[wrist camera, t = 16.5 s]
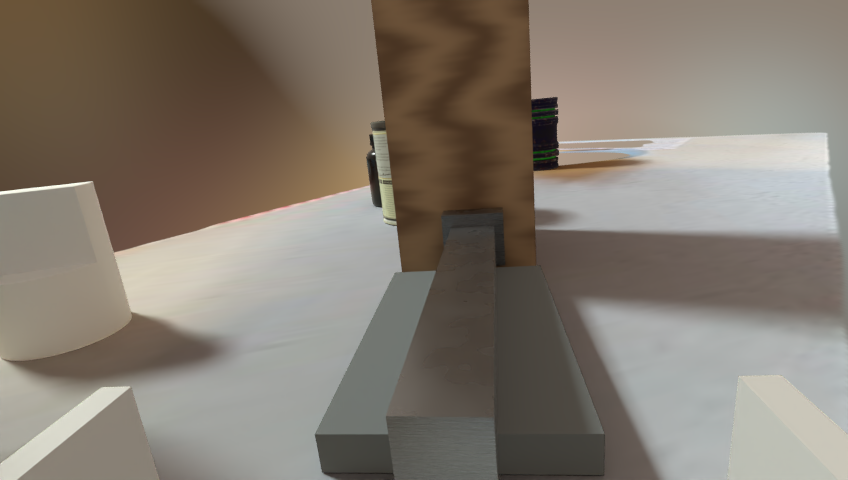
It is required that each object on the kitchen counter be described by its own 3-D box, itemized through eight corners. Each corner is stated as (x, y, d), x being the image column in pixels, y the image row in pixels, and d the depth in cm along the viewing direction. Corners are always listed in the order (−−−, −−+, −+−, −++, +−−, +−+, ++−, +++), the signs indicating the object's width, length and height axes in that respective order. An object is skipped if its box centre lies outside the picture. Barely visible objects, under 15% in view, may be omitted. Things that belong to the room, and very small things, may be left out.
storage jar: (562, 163, 107) (561, 96, 103) (555, 170, 98) (554, 97, 94) (519, 165, 111) (516, 100, 107) (509, 171, 102) (506, 102, 98)
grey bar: (376, 500, 16) (359, 389, 15) (447, 260, 41) (443, 210, 40) (521, 507, 15) (516, 389, 14) (504, 257, 40) (502, 207, 39)
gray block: (322, 472, 20) (315, 434, 20) (397, 294, 39) (395, 272, 39) (604, 475, 19) (604, 433, 18) (540, 288, 38) (540, 265, 37)
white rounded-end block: (-31, 371, 33) (-98, 209, 30) (40, 320, 42) (-6, 189, 38) (106, 347, 35) (56, 191, 32) (147, 302, 43) (112, 176, 40)
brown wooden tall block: (403, 281, 42) (354, -143, 33) (423, 234, 58) (393, -66, 49) (536, 275, 41) (523, -173, 32) (520, 228, 56) (508, -83, 47)
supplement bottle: (416, 198, 82) (409, 129, 79) (405, 206, 76) (397, 132, 72) (379, 200, 84) (371, 132, 80) (366, 208, 77) (357, 135, 74)
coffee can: (421, 206, 74) (412, 117, 70) (467, 213, 67) (460, 113, 63) (368, 220, 68) (356, 123, 64) (412, 230, 60) (400, 119, 57)
